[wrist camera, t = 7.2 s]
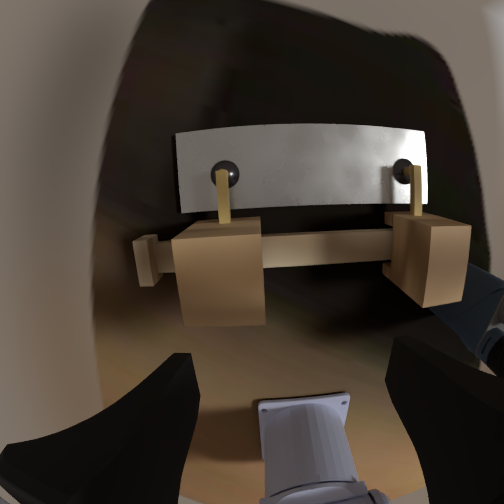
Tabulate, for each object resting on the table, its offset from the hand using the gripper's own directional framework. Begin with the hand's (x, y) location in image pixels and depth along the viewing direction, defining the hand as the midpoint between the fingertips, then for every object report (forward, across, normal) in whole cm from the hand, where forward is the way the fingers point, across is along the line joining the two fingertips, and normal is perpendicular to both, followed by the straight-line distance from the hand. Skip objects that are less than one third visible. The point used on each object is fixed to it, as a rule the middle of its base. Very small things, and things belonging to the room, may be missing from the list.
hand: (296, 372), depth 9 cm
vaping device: (+11, -14, +2) cm, 18 cm away
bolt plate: (+10, -2, -7) cm, 13 cm away
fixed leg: (+10, -9, -3) cm, 14 cm away
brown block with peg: (+10, +3, -3) cm, 11 cm away
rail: (+10, -2, -2) cm, 11 cm away
